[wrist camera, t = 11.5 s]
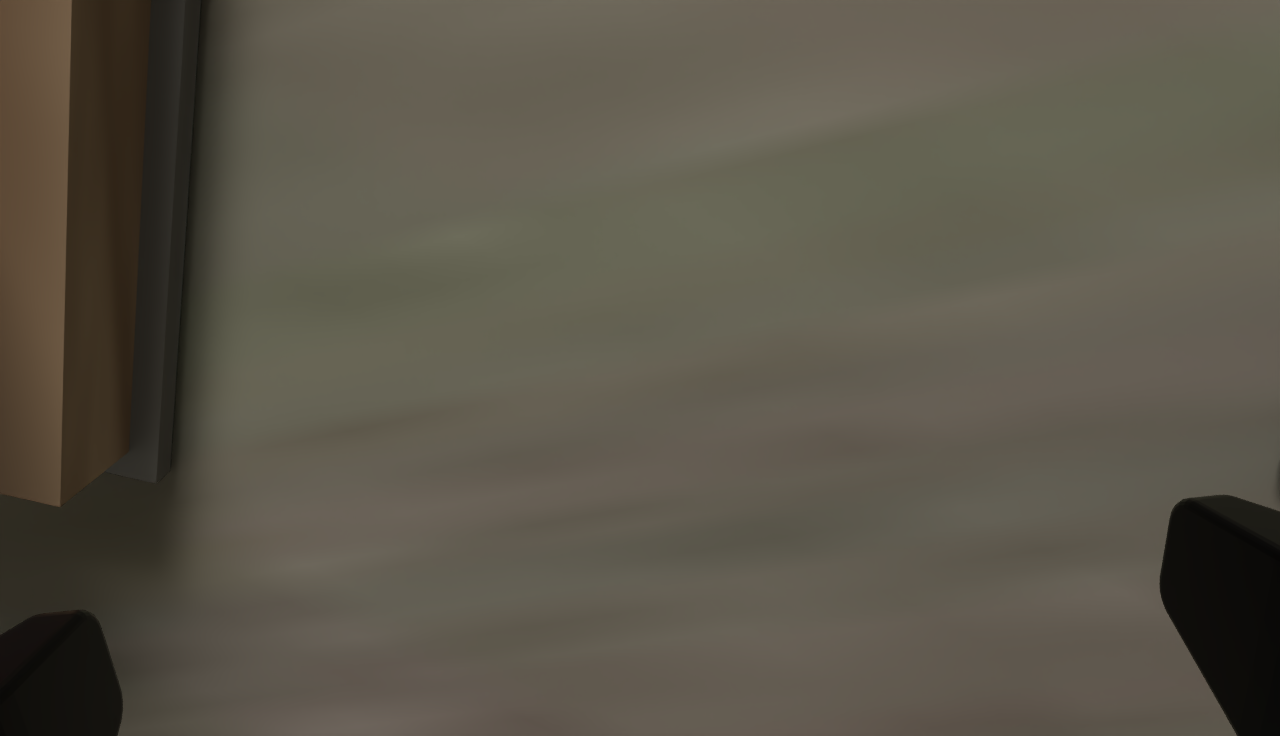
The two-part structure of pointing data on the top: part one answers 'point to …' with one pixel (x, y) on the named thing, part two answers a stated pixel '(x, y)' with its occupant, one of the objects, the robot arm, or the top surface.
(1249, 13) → the top surface
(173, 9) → the square wooden tray
